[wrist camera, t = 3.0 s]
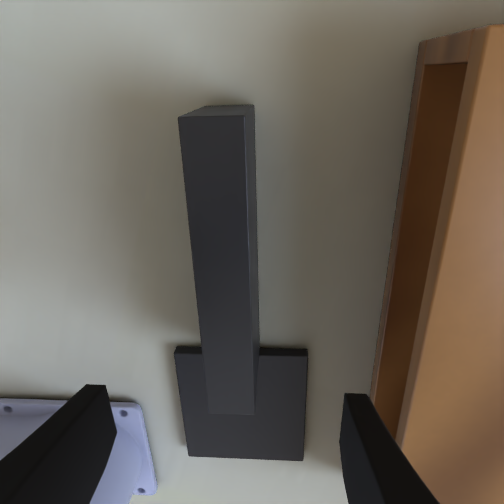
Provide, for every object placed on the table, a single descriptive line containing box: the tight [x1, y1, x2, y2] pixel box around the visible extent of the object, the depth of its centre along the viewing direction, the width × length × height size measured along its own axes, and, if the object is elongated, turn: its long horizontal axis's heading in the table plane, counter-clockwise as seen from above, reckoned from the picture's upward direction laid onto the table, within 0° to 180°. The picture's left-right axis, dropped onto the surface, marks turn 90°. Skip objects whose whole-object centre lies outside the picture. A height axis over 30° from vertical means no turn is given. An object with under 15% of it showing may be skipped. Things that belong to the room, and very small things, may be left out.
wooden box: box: [370, 24, 504, 504], centre depth 16 cm, size 8×24×5 cm, turn 2°
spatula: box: [174, 105, 308, 461], centre depth 17 cm, size 7×20×4 cm, turn 1°
